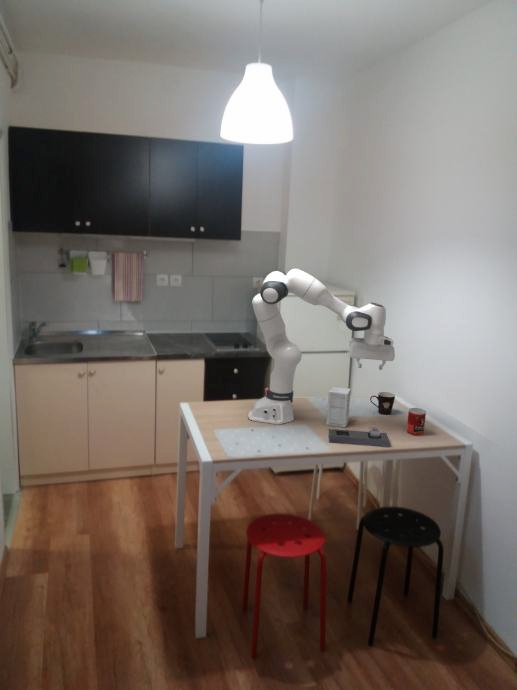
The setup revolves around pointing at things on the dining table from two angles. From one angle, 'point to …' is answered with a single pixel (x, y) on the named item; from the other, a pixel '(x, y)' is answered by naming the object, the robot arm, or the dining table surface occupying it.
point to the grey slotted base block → (357, 438)
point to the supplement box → (338, 406)
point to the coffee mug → (385, 402)
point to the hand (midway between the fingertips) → (370, 368)
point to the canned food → (416, 421)
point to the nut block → (374, 433)
